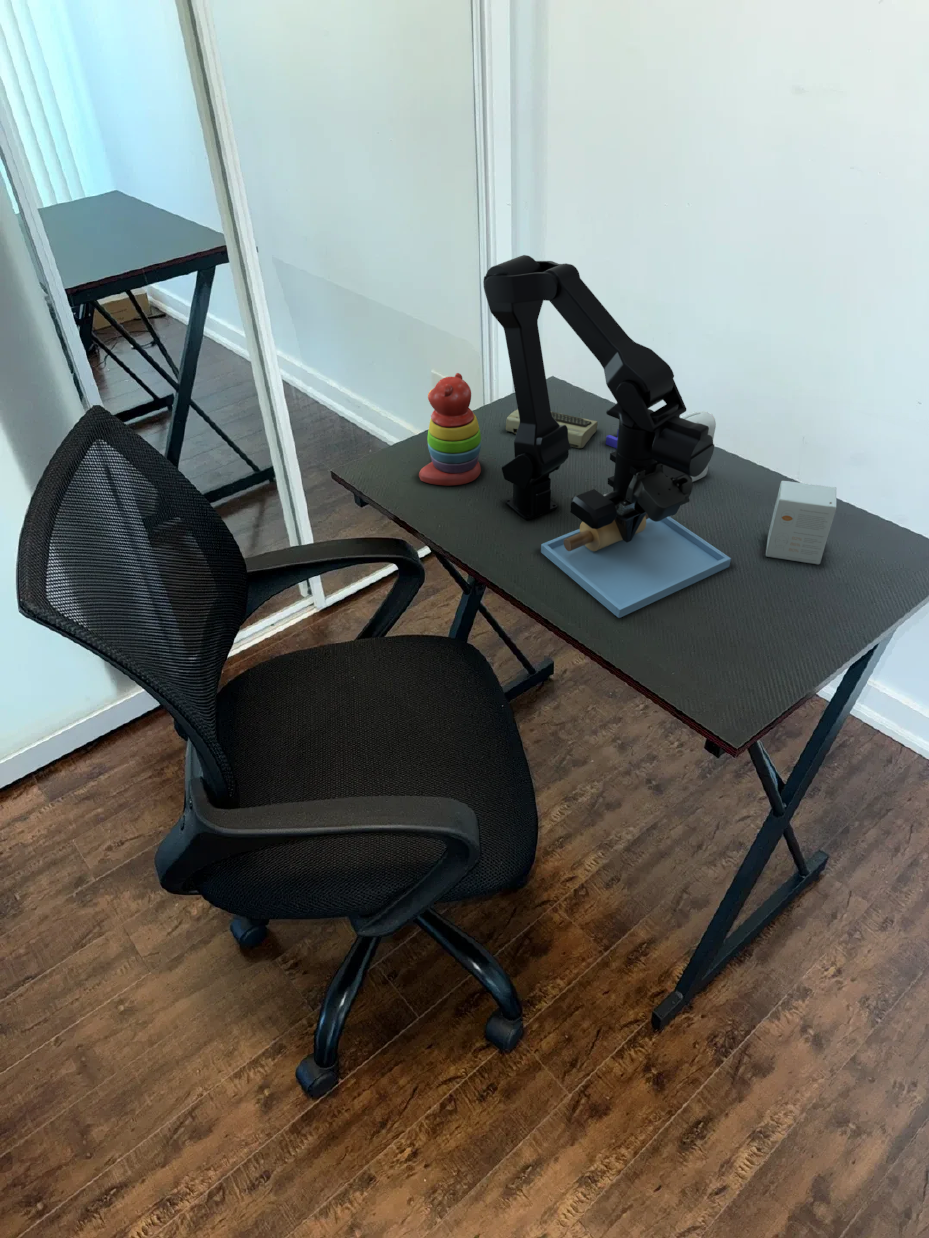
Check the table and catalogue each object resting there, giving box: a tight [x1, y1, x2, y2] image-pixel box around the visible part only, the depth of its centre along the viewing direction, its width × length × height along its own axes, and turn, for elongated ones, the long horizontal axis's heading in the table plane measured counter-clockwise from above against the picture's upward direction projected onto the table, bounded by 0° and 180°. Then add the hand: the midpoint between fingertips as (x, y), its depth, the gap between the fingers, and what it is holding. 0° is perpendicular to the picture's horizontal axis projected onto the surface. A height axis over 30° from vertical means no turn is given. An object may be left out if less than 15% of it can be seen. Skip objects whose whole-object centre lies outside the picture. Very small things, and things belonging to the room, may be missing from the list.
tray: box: [540, 516, 732, 619], centre depth 126 cm, size 19×21×2 cm
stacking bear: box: [418, 372, 482, 486], centre depth 142 cm, size 11×10×18 cm
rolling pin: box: [564, 514, 649, 551], centre depth 128 cm, size 5×18×5 cm, turn 121°
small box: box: [765, 480, 837, 565], centre depth 124 cm, size 8×6×10 cm
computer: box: [505, 408, 599, 449], centre depth 157 cm, size 16×8×3 cm, turn 61°
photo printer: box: [680, 410, 717, 483], centre depth 139 cm, size 10×4×12 cm, turn 123°
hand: (626, 540), depth 126 cm, fingers closed
